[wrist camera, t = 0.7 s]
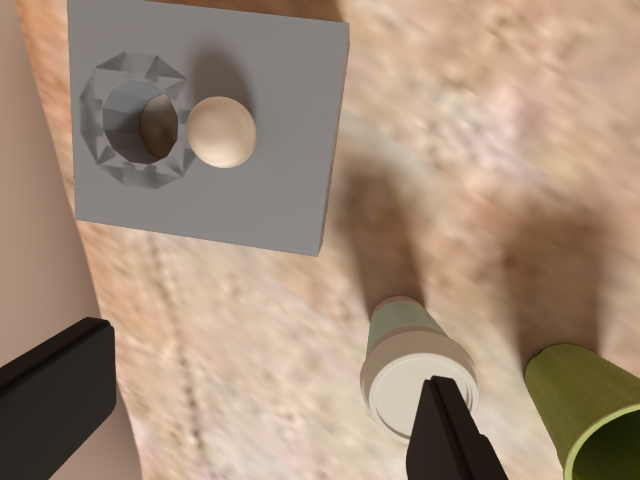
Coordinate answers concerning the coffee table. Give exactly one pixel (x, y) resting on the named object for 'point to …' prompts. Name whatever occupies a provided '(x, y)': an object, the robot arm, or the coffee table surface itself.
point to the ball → (221, 132)
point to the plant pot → (587, 412)
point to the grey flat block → (185, 93)
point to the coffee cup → (409, 364)
